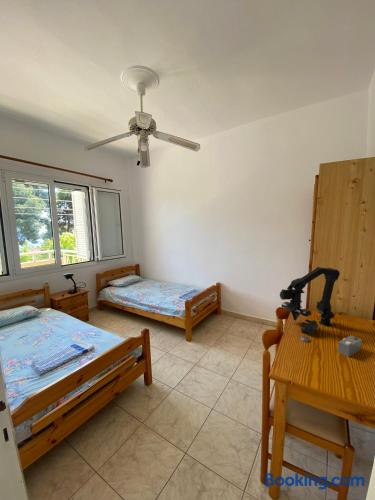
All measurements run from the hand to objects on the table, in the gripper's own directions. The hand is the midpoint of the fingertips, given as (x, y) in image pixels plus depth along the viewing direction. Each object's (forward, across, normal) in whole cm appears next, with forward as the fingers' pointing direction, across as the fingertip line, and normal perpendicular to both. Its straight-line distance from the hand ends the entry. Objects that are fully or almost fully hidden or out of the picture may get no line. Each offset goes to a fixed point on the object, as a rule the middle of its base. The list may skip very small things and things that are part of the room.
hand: (295, 320), depth 142 cm
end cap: (+4, +10, 0) cm, 11 cm away
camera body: (+4, +33, 0) cm, 33 cm away
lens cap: (+4, +14, -11) cm, 19 cm away
